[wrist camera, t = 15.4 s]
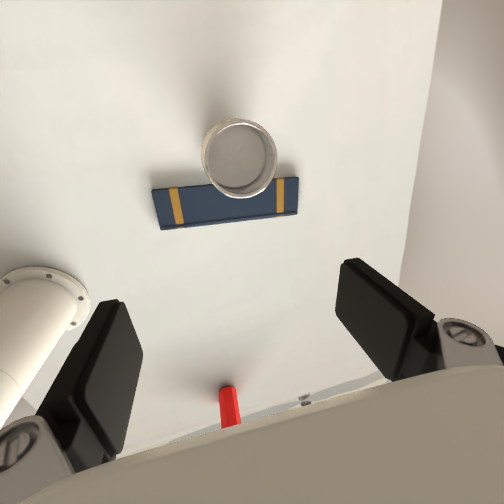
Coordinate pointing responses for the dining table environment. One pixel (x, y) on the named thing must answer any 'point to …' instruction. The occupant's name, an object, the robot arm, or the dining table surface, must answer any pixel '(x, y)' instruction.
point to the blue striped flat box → (223, 204)
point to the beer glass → (239, 157)
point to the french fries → (229, 407)
